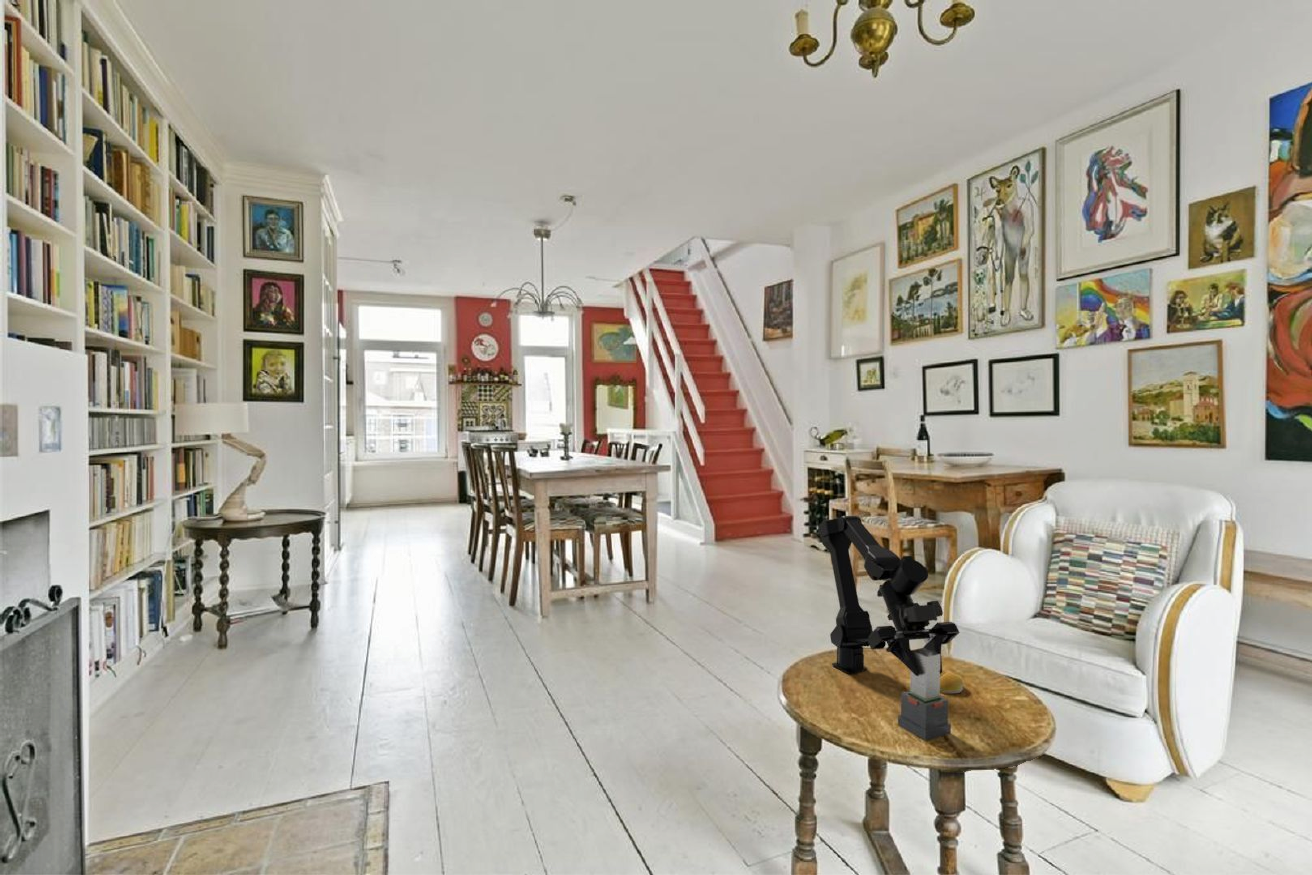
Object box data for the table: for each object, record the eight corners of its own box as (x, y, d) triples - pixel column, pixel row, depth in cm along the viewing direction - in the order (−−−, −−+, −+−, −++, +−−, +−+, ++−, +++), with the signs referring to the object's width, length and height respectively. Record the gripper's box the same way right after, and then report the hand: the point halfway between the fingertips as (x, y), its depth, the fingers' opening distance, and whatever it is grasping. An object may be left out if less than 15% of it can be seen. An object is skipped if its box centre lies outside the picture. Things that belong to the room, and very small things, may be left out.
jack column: (909, 701, 133) (910, 650, 133) (923, 697, 135) (924, 647, 135) (925, 710, 130) (926, 657, 129) (939, 706, 131) (941, 654, 131)
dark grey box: (897, 724, 134) (898, 692, 134) (922, 717, 137) (923, 686, 137) (925, 740, 128) (926, 706, 127) (950, 733, 131) (951, 700, 131)
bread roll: (954, 698, 147) (954, 681, 147) (917, 685, 154) (917, 669, 154) (969, 688, 153) (970, 672, 153) (933, 676, 160) (933, 660, 159)
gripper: (876, 589, 133) (905, 661, 123) (955, 585, 137) (989, 654, 127) (856, 614, 142) (882, 683, 131) (931, 609, 145) (962, 676, 135)
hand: (929, 674), depth 131 cm, fingers closed on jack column, 5 cm apart
